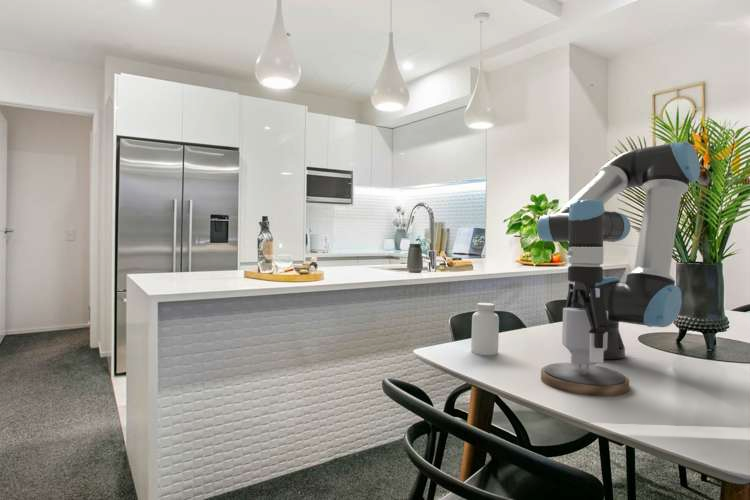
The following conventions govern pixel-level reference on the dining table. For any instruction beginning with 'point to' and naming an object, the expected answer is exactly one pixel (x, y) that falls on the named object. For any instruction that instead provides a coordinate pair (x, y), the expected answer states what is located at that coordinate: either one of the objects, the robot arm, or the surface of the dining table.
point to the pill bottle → (485, 330)
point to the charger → (578, 336)
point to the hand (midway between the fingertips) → (583, 354)
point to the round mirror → (585, 379)
